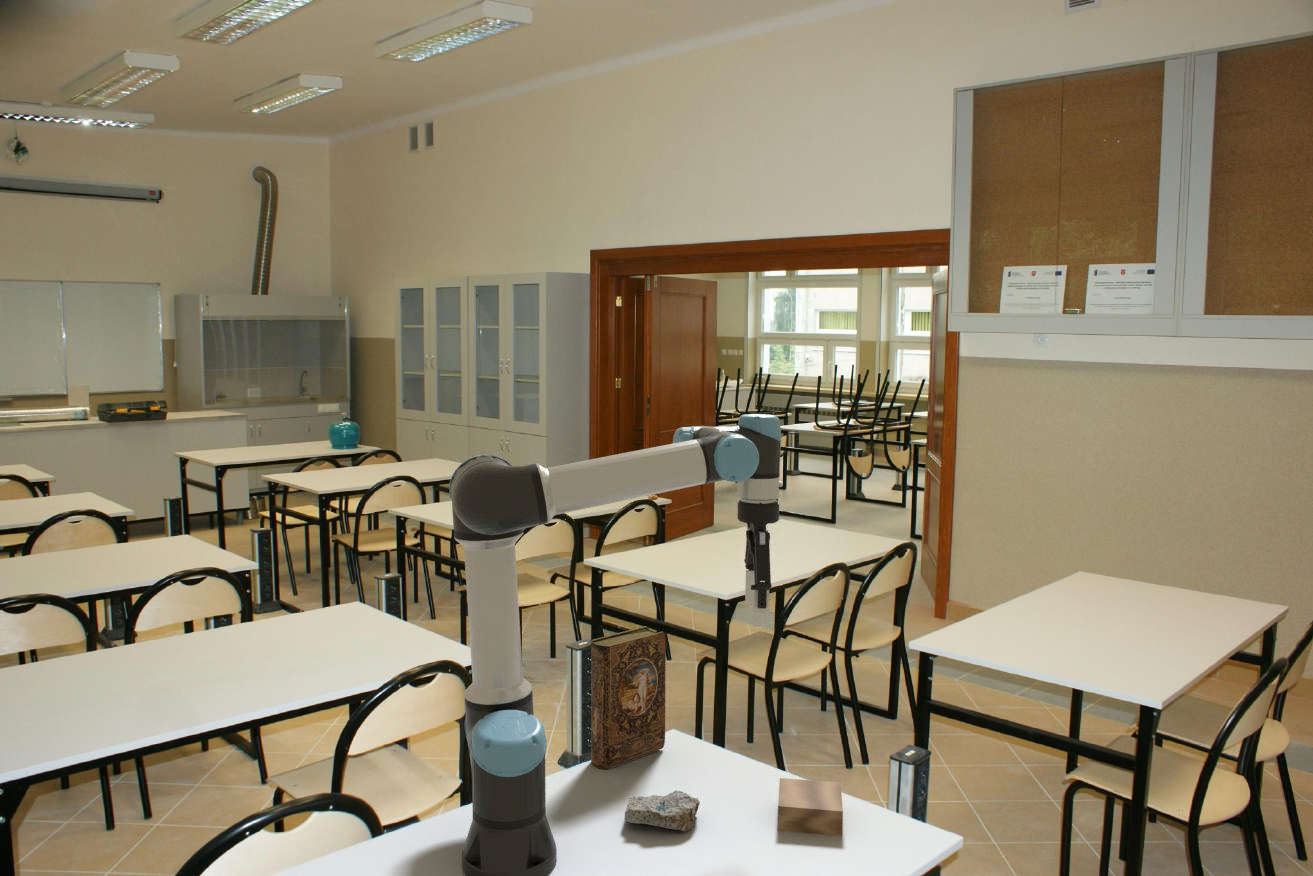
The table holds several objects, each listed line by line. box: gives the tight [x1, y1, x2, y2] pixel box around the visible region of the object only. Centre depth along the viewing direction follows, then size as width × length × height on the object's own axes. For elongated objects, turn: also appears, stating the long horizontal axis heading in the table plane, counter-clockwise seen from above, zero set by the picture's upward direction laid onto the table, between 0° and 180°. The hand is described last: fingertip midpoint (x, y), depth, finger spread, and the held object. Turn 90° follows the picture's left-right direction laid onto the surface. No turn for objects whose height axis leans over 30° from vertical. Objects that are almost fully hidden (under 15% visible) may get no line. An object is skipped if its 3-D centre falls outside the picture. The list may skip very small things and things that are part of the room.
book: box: [590, 626, 667, 770], centre depth 197 cm, size 16×6×25 cm, turn 133°
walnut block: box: [777, 777, 844, 837], centre depth 172 cm, size 11×11×5 cm
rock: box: [624, 790, 701, 832], centre depth 170 cm, size 13×10×5 cm
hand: (756, 614), depth 177 cm, fingers open, 13 cm apart
